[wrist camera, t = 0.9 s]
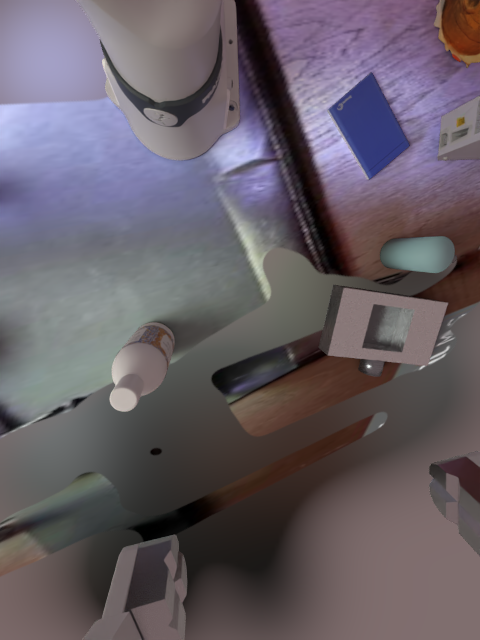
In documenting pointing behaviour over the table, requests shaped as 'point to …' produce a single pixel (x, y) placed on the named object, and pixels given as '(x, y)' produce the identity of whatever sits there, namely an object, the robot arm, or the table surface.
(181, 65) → the robot arm
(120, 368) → the bath foam
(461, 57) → the vessel
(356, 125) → the hard drive
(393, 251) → the toggle switch lever
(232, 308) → the table surface
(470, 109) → the game console
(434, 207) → the table surface
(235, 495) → the table surface
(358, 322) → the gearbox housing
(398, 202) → the table surface
